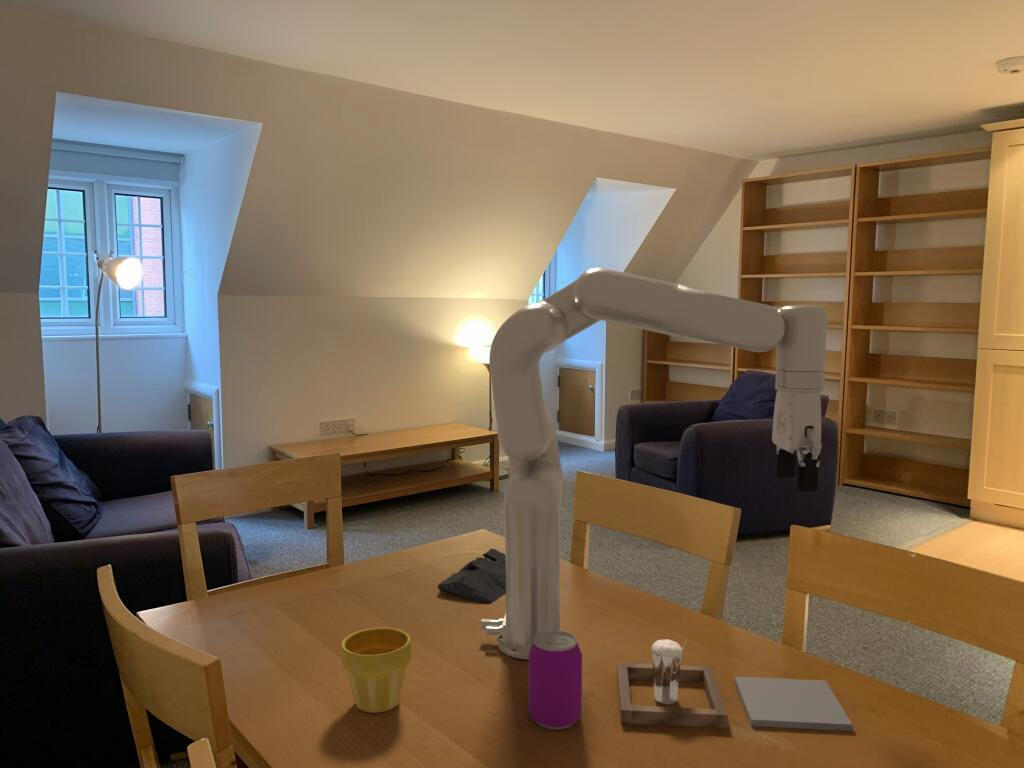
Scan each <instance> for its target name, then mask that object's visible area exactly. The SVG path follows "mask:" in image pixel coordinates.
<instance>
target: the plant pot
mask: <svg viewBox="0 0 1024 768" xmlns="http://www.w3.org/2000/svg"><path fill="white" fill-rule="evenodd" d="M411 640H412V638H411V635H409V634H408V633H407V632H406V631H404V630H402V629H399V628H393V627H370V628H366V629H361V630H357V631H355V632H352V633H350V634H349V635H347V636H346V637H344V639H343V640H342V641H341V645H340V646H341V647H340V648H341V649H340V653H341V664H342V668H343V669H344V671H346V673H347V675H348V677H347V678H348V679H349V680H348V681H349V684H350V687H351V691H352V694H353V699H354V703H355V706H356V707H357V709H358V710H360V711H361V712H362V711H363V712H365V713H369V714H370V713H372V714H373V713H374V714H378V713H384V712H388V711H391V710H393V709H394V708H396V707H397V706H398V705H399V704H400V702H401V697H402V691H403V685H404V681H405V674H406V669H407V666H409V664H410V662H411V660H412V641H411Z"/></svg>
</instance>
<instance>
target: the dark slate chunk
mask: <svg viewBox="0 0 1024 768" xmlns="http://www.w3.org/2000/svg"><path fill="white" fill-rule="evenodd" d="M437 590H439V591H440V592H441V593H445V594H450V595H454V596H459V597H461V598H463V599H466V600H469V601H473V602H476V603H479V604H493V603H494V602H496V601H498V600H499V599H500V598H501V597H503V596H506V560H505V552H504V553H503V552H501V551H499V550H497V549H494V548H490V549H488V551H486V552H485V553H483V554H482V557H481V556H478V557H476V558H475V559H473V560H471V561H469V562H467V563H466V564H465V565H463V567H461V569H459V571H457V572H455V573H452V574H451V575H450V576H448V577H447V578H446V579H444V580H442V581H441V582H440V583H438V584H437Z"/></svg>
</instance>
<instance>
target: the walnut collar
mask: <svg viewBox="0 0 1024 768" xmlns="http://www.w3.org/2000/svg"><path fill="white" fill-rule="evenodd" d="M616 663H617V667H616V669H617V671H616V674H617V677H616V678H617V688H618V702H619V703H618V704H619V714H620V715H619V716H620V723H621V724H631V725H633V724H634V725H646V726H647V725H649V726H651V725H652V726H669V727H689V728H690V727H691V728H704V729H705V728H708V729H709V728H710V729H728V716H729V715H728V713H727V709H726V706H725V703H724V700H723V697H722V694H721V692H720V689H719V685H718V682H717V679H716V675H715V674H714V669H713V668H712V666H708V665H707V666H706V665H685V664H684V665H683V664H682V665H681V664H680V673H679V682H684V683H685V682H687V683H703V687H704V691H705V695H706V698H707V701H708V704H709V706H710V707H709V708H696V707H695V708H694V707H678V706H677V707H675V706H674V707H673V706H657V705H655V706H654V705H635V704H632V702H631V691H630V681H629V680H638V681H639V680H641V681H654V674H653V663H641V662H640V663H636V662H635V663H633V662H616Z"/></svg>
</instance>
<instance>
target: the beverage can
mask: <svg viewBox="0 0 1024 768" xmlns="http://www.w3.org/2000/svg"><path fill="white" fill-rule="evenodd" d="M579 645H580V644H579V643H578V639H577V637H576V635H574V634H572V633H570V632H567V631H564V630H561V631H556V630H554V631H545V632H541V633H539V634H537V635H536V636H535V638H534V642H533V644H532V647H531V649H530V652H529V660H528V713H529V717H530V718H531V719H532V721H533V722H535V723H536V724H537V725H538V726H540V727H542V728H545V729H548V730H564V729H568V728H570V727H573V725H574V724H576V723H577V722H578V721H579V720H580V719H581V716H582V715H581V714H582V711H583V710H582V709H583V708H582V704H583V702H582V697H583V690H582V688H583V684H582V683H583V681H582V680H583V653H582V651H581V648H580V646H579Z"/></svg>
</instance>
